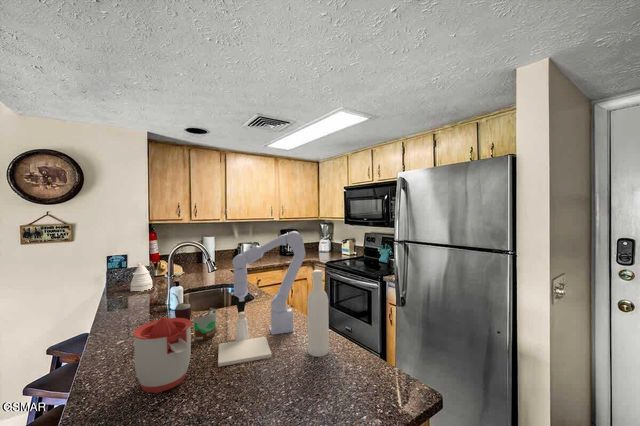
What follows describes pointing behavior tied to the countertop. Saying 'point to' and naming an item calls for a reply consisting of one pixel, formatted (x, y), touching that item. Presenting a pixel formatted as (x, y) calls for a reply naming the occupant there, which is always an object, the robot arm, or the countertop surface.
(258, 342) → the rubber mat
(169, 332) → the citrus juicer
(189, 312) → the mate gourd
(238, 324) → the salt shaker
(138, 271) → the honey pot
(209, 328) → the food container
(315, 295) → the bottle
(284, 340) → the countertop surface
